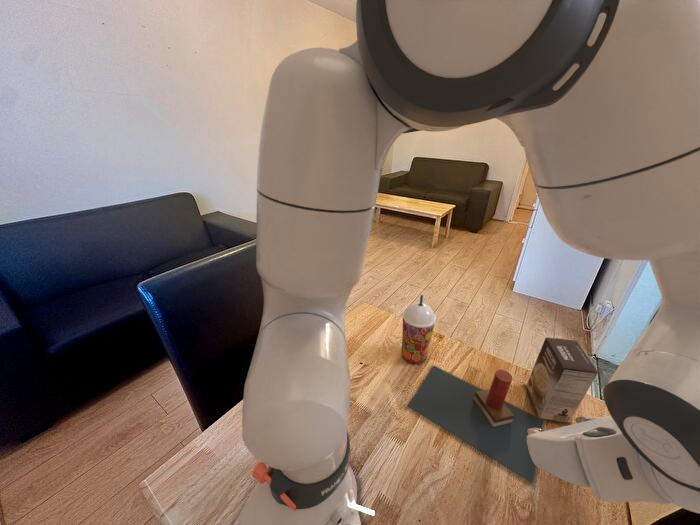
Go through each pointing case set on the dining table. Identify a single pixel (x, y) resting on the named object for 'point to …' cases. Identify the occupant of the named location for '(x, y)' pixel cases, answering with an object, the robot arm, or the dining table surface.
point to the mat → (476, 421)
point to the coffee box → (560, 379)
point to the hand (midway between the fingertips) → (556, 427)
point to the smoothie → (417, 331)
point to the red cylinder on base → (496, 399)
